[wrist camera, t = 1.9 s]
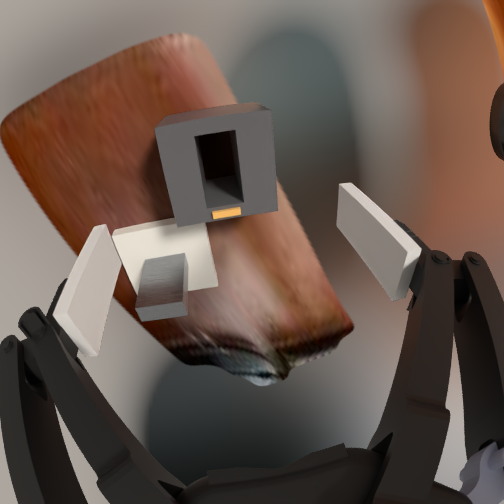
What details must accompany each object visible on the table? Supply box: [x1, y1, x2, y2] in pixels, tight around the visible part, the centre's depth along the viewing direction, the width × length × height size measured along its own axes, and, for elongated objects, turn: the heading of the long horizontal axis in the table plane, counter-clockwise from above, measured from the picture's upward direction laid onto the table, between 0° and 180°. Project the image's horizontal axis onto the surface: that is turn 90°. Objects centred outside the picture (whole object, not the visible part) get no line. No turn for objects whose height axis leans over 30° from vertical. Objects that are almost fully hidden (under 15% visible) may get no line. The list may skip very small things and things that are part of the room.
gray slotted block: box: [154, 102, 278, 228], centre depth 25 cm, size 9×9×7 cm
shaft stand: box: [112, 217, 218, 321], centre depth 30 cm, size 11×10×10 cm
